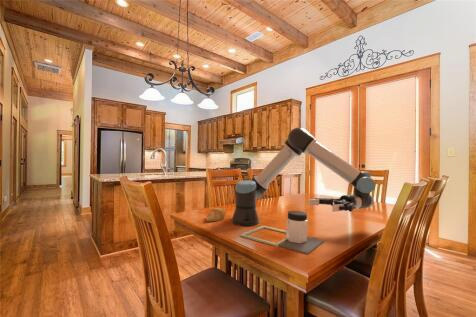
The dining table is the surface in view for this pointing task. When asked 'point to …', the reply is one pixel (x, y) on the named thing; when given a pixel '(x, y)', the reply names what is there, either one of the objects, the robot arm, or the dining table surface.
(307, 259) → the dining table surface
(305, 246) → the mat
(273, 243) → the frame
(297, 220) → the jar
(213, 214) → the croissant
